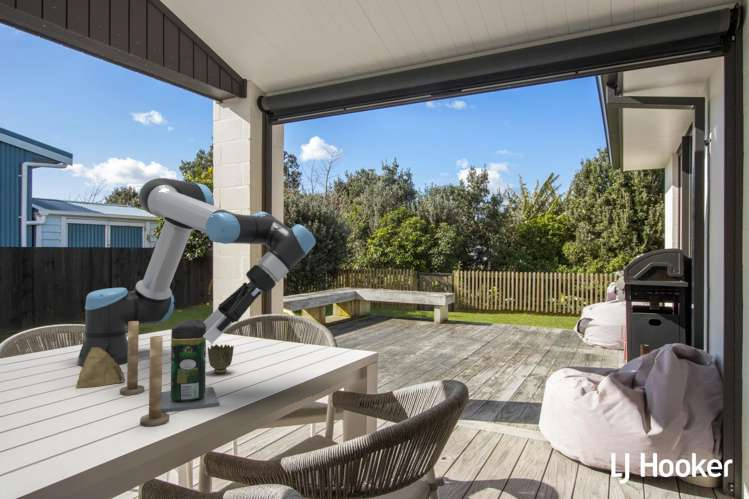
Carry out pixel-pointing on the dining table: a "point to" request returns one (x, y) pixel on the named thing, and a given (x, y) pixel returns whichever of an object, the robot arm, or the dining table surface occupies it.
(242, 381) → the dining table surface
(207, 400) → the slate pad
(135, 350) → the dowel
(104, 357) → the rock
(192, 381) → the coffee jar
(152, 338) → the dowel
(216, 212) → the robot arm
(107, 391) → the dining table surface
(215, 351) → the cup
